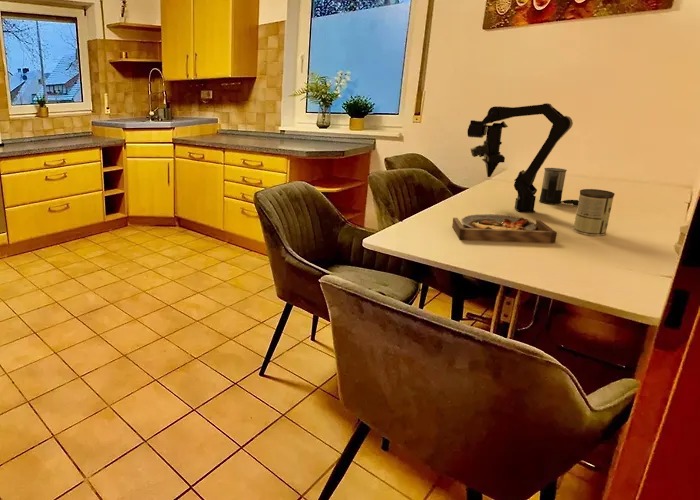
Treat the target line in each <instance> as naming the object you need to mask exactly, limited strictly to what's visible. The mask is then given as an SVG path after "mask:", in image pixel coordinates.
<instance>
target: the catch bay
mask: <svg viewBox="0 0 700 500" xmlns="http://www.w3.org/2000/svg"><path fill="white" fill-rule="evenodd" d="M535 224H536V226H537V227H538V228H537V229H535V230H504V229H475V228H471V227H466V228H465V226H464V224H463V223H462V221H460V220H459V218H458V217H452V225H451V227H452V229H453V231H454V233H455V234H456V236H457V238H458V240H460V241H482V242H483V241H484V242H487V241H489V242H509V243H510V242H512V243H513V242H515V243H516V242H517V243H535V244H536V243H538V244H539V243H540V244H541V243H543V244H544V243H545V244H556V240H557V234H558V233H557V231H555V230H554V229H552V228H551V227H550V226H549V225H548V224H546V223H545V222H544V221H543V220H539V219H538V220H536V221H535Z"/></svg>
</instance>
